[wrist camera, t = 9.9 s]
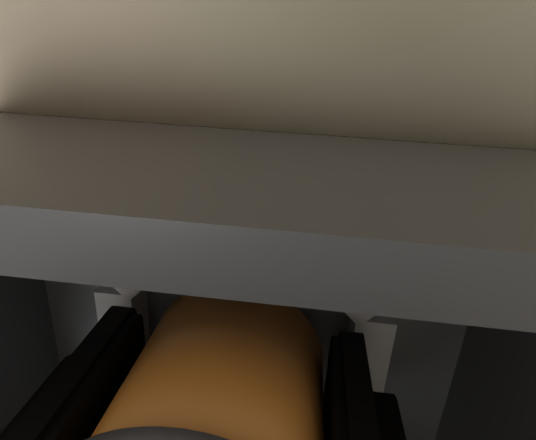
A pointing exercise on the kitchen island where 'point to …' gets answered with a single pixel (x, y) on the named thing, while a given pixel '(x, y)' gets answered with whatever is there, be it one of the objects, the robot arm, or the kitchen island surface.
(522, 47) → the kitchen island surface
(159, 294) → the housing
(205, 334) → the jar
